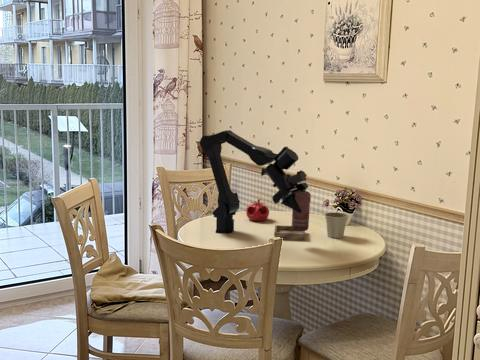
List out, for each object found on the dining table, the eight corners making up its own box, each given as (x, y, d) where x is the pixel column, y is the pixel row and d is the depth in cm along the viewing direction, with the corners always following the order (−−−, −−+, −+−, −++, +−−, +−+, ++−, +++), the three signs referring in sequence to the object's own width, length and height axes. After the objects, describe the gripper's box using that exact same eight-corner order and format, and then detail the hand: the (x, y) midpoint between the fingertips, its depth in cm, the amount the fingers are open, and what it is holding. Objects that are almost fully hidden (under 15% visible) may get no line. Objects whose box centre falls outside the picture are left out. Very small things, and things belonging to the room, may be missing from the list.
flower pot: (332, 231, 229) (333, 211, 227) (352, 236, 222) (353, 215, 221) (318, 235, 222) (319, 214, 221) (338, 241, 216) (339, 218, 214)
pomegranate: (247, 217, 252) (247, 196, 251) (270, 217, 251) (270, 197, 249) (244, 222, 242) (244, 200, 241) (268, 222, 241) (268, 201, 240)
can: (308, 232, 204) (310, 194, 202) (290, 230, 206) (292, 192, 203) (309, 227, 210) (311, 190, 208) (292, 226, 211) (294, 189, 209)
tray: (274, 239, 217) (274, 232, 216) (275, 231, 228) (275, 225, 228) (304, 240, 216) (304, 234, 215) (304, 232, 227) (304, 226, 227)
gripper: (281, 166, 198) (308, 202, 194) (305, 161, 213) (330, 193, 210) (261, 186, 204) (286, 220, 200) (285, 179, 219) (310, 211, 215)
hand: (304, 210), depth 206 cm, fingers closed on can, 5 cm apart
